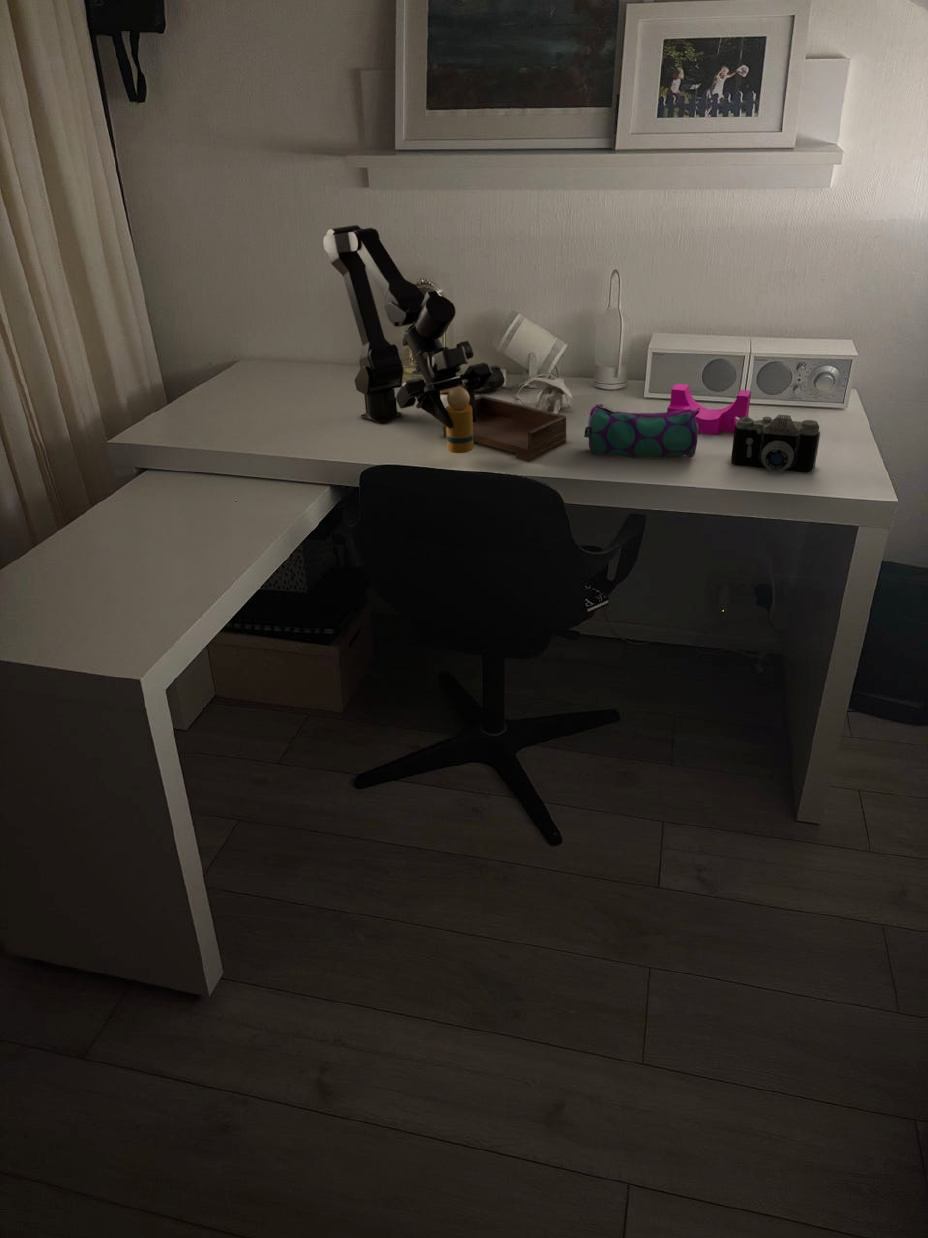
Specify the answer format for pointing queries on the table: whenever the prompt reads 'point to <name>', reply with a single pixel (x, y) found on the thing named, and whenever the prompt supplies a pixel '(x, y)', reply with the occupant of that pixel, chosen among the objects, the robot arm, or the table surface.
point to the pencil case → (642, 433)
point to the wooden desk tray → (517, 428)
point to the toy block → (710, 410)
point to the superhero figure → (551, 393)
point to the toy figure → (490, 380)
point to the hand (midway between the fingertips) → (463, 424)
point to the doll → (459, 421)
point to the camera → (776, 444)
